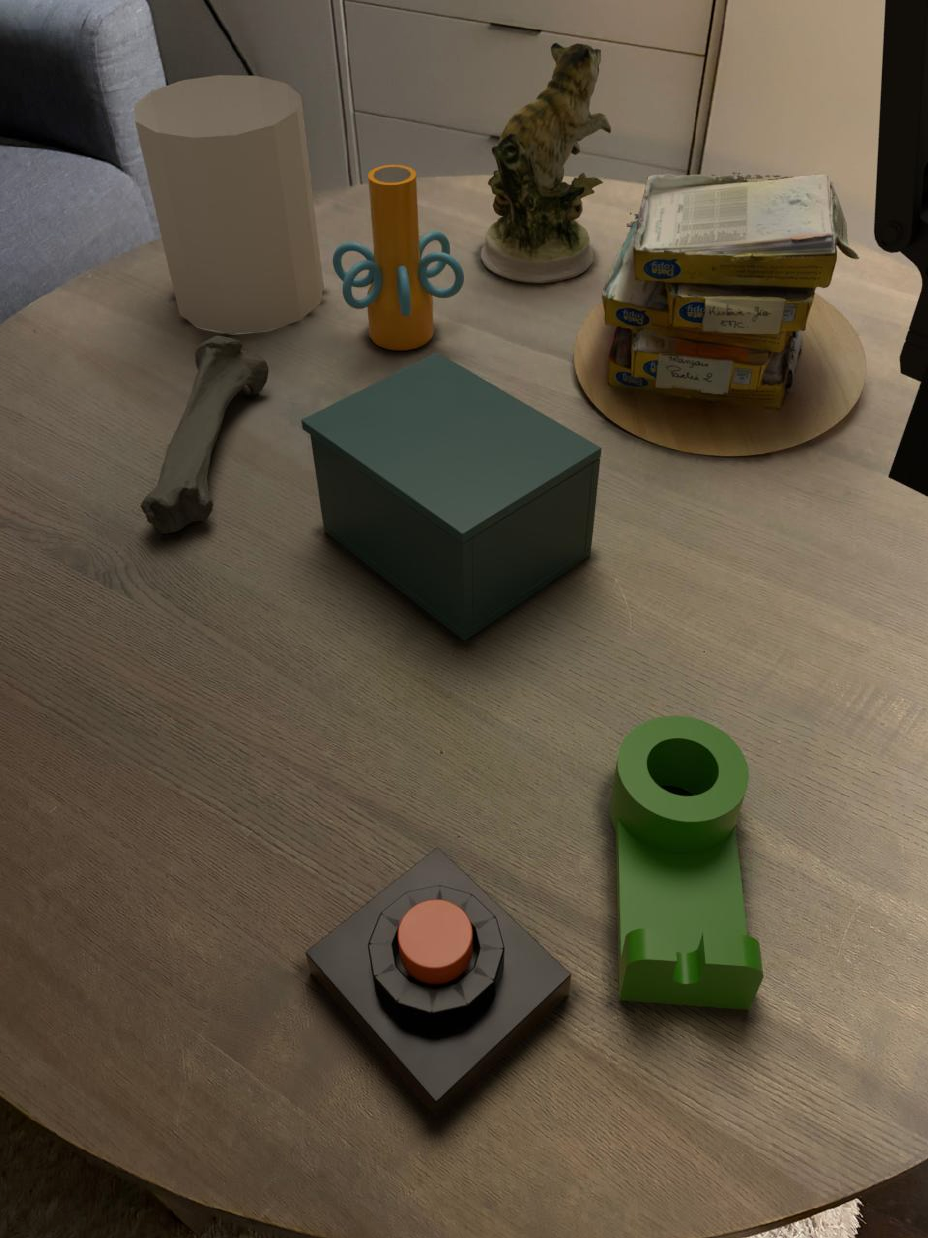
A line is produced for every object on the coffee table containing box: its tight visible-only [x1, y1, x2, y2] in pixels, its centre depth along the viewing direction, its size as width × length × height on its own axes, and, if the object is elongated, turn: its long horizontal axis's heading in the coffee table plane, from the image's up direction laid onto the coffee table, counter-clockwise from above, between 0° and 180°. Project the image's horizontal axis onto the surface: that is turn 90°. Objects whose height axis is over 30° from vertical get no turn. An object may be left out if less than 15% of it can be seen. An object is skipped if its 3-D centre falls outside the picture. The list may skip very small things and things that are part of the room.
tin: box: [309, 434, 601, 641], centre depth 74 cm, size 16×13×9 cm
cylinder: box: [332, 164, 465, 351], centre depth 92 cm, size 12×10×15 cm
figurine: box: [480, 42, 612, 284], centre depth 101 cm, size 12×14×20 cm
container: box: [132, 74, 324, 335], centre depth 97 cm, size 14×14×18 cm
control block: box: [305, 846, 572, 1120], centre depth 52 cm, size 10×9×4 cm
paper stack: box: [573, 170, 867, 457], centre depth 87 cm, size 25×25×17 cm
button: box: [398, 899, 473, 985], centre depth 51 cm, size 4×4×2 cm
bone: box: [140, 335, 270, 535], centre depth 83 cm, size 22×6×6 cm, turn 176°
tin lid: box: [301, 351, 602, 543], centre depth 71 cm, size 16×13×1 cm
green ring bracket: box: [609, 715, 764, 1011], centre depth 56 cm, size 15×7×5 cm, turn 175°
